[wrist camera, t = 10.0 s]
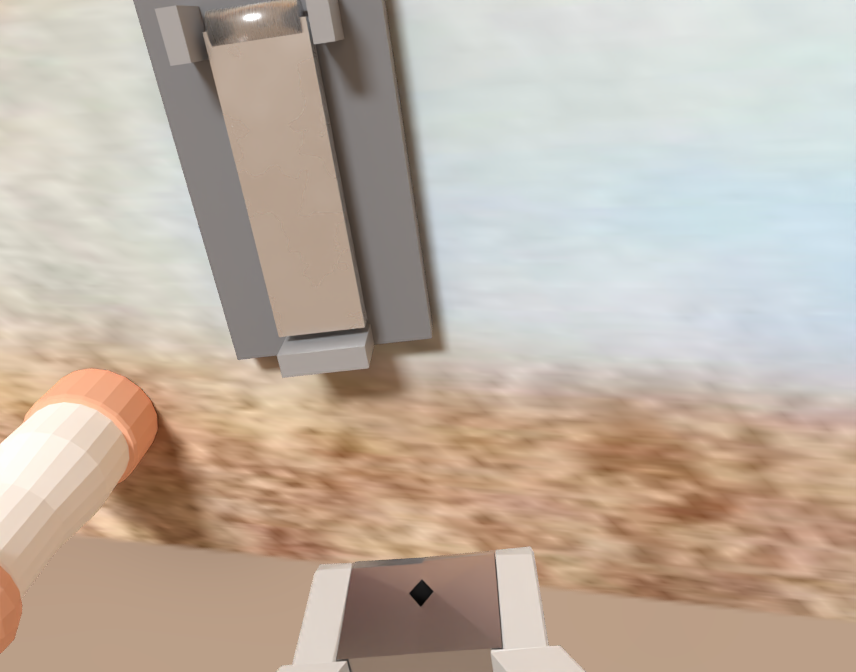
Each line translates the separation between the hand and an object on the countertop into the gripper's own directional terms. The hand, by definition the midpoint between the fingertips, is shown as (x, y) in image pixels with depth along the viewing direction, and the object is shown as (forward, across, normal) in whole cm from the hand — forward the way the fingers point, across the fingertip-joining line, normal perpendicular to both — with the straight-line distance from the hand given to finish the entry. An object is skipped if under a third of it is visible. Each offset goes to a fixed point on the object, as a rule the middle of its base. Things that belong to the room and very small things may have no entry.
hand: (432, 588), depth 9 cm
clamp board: (+31, +8, 0) cm, 32 cm away
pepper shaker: (+31, +25, +14) cm, 42 cm away
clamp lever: (+29, +8, -1) cm, 30 cm away
